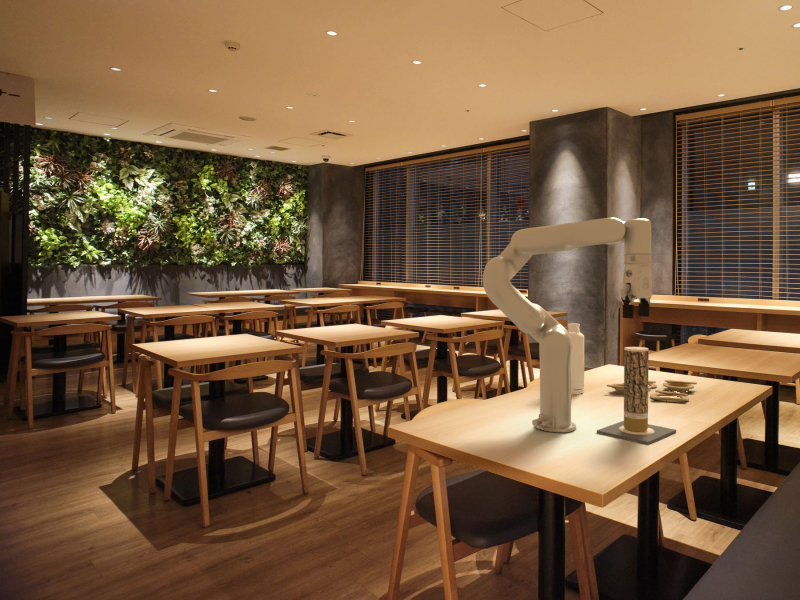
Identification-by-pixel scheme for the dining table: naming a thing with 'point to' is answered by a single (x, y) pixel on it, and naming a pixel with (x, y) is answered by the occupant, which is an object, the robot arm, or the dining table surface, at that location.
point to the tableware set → (671, 385)
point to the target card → (637, 433)
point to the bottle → (577, 358)
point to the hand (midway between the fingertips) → (636, 317)
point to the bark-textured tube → (636, 388)
